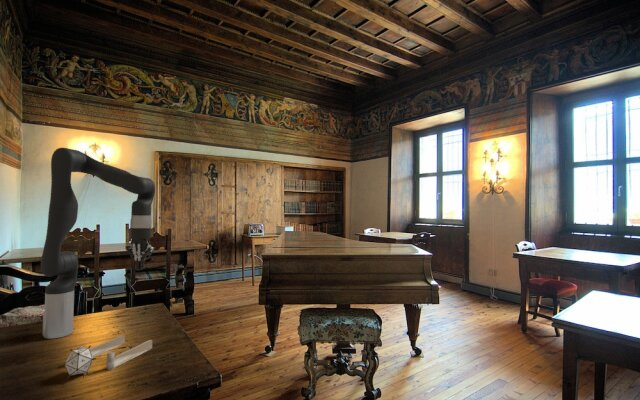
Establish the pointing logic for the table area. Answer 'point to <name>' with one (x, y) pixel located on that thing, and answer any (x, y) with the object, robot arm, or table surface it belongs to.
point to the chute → (120, 358)
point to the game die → (79, 361)
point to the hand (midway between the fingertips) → (139, 269)
